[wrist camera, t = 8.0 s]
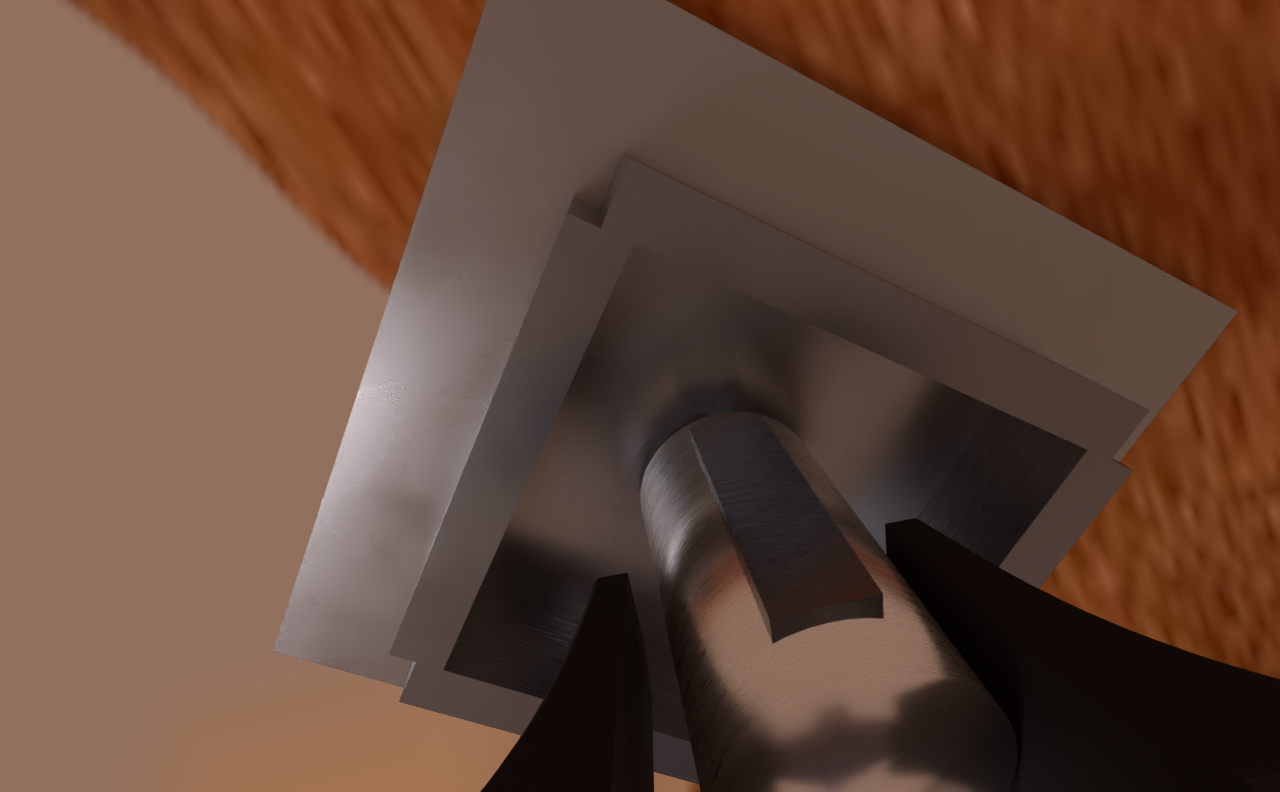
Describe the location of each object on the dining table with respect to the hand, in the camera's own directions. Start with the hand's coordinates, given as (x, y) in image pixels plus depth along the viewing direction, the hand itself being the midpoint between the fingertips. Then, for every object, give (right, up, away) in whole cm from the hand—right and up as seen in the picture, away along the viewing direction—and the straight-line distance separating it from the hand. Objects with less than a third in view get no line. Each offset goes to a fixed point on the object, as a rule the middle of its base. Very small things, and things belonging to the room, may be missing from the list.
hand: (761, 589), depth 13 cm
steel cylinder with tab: (0, +1, +3) cm, 4 cm away
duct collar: (0, +2, +4) cm, 4 cm away
